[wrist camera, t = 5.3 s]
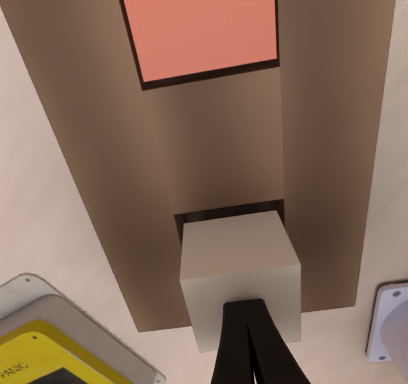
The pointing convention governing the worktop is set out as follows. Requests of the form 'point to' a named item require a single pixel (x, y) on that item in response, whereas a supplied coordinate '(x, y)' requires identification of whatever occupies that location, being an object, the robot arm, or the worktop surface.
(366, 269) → the worktop surface
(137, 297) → the walnut plunger housing
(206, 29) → the salmon red square block
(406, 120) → the worktop surface
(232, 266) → the off-white plunger
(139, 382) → the emergency button
